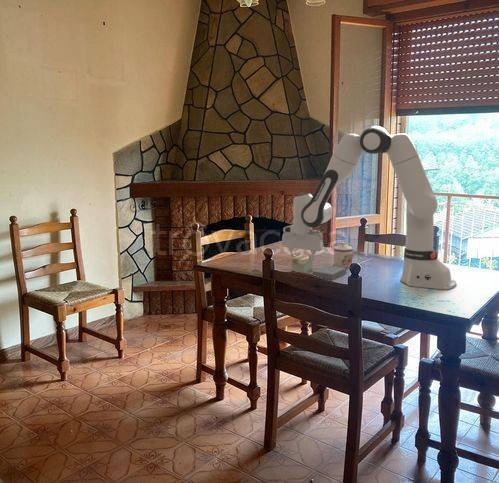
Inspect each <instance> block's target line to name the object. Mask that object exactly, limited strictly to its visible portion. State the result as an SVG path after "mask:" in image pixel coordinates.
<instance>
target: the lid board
mask: <svg viewBox="0 0 499 483" xmlns="http://www.w3.org/2000/svg"><path fill="white" fill-rule="evenodd" d="M309 256H310V255H307V254H300V255H296V257H290V264H292V263H295V264H301V265H303V264H306V263H309V262H311V261H314V260H315V259H314V258H315V257H314V258H313V260H309Z"/></svg>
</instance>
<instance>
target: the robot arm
mask: <svg viewBox="0 0 499 483" xmlns="http://www.w3.org/2000/svg"><path fill="white" fill-rule="evenodd" d="M364 153H367V154H370V155H371V154H372V155H376V154H387V156H388V158H389V162H390V163H391V166H392V168H393V172H394V174H395V176H396V179H397V182H398V184H399V187H400V189H401V191H402V193H403V196H404V199H405V201H406V209H405V210H406V212H405V213H406V214H405V216H406V222H405V224H406V225H405V226H406V227H405V228H406V231H405V232H406V233H405V234H406V236H405V247H404V251H403V261H404V262H403V263H404V264H403V268H402V272H401V277H400V279H399V280H400V281H401V282H402V283H404V284H406V285H407V286H409V287H414V288H415V287H416V288H425V289H435V290H436V289H437V290H451V289H453V288H455V287H456V286H457V281H456V280H454V279H452V276H451V275H452V274H451V270H450V268H449V267H448V266H446V264H444V263H443V262H441V261H440V260H439V259H438V254H439V250H437V251H436V250H435V249H434V239H435V238H434V237H435V229H434V228H435V226H434V225H435V224H434V215H435V213H436V211H437V209H438V201H437V198H436V196H435V192H434V190H433V187H432V186H431V183H430V180H429V179H428V176H427V174H426V171H425V169H424V166H423V164H422V160H421V159H420V158H421V157H420V156H419V153H418V151H417V148H416V146H415V144H414V142H413V141H412V138H410V136H409V135H408V134H407V133H403V132H401V133H396V134H390V132H389V131H388V129H387V128H385V127H384V126H381V125H372V126H369V127H367V128H366V129H364V130H363V132H362V133H361V134H360V135H358V134H356V133H346V134H344V135H343V136H342V137H341V139H340V140H339V142H338V144H336V147H335V149H334V151H333V153H332V154H331V155H332V156H331V157H330V160H329V163H328V165H327V168H326V170H325V172H324V174H323V176H322V179H321V180H320V182H319V183H318V185H317V187H316V190H315V191H314V194H313V195H312V194H311V193H308V192H307V193H301V194H296V195H295V196H294V198H293V203H292V215H293V218H292V219H293V220H292V224H290V225H287V226H284V227H283V228H282V231H283V234H282V237H281V245H282V246H283V247H284V248H288V250H289V252H290V256H291V257H290V258H294V257H297V255H296V254H297V253H295V251H294V249H299V250H307V251H310V253H311V254H310V255H308V256H309V260H313V258H315V254H316V253H317V252H320V251H322V250H323V249H324V240H323V237H324V236H323V235H324V234H323V232H322V231H320V230H318V229H317V230H316V229H313V228H317V227H319V226H320V225H323V224H324V223H327V222H328V221H329V220H331V219H332V218H333V216H334V209H333V206H332V205H331V203H330V202H328V201H329V199H330V196H331V195H332V192H333V191H334V190H335V189H336V187H338V186H339V185H340V184H342V183H343V182H344V181H346V180H347V179H349V178H350V176H351V175H352V173H353V172H354V171H355V170H356V167H357V165H358V162H359V160H360V158H361V157H362V155H363V154H364Z"/></svg>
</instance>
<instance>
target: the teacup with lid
mask: <svg viewBox="0 0 499 483" xmlns="http://www.w3.org/2000/svg"><path fill="white" fill-rule="evenodd" d="M354 255H355V252H354V249H353V247H352V246H349V245H348V244H346V242H344V241H343V242H342V241H341V243H340V244H338V245H336V246H334V248H333V266H335V267H341V268H346V269H350V268H349V266H350V265H351V264H352V265H353V258H354Z"/></svg>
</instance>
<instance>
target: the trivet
mask: <svg viewBox="0 0 499 483" xmlns="http://www.w3.org/2000/svg"><path fill="white" fill-rule="evenodd" d="M346 274H347V268H341V267H335V266H334V265H324V266H321V267H318V268H317V269H314V270H312V276H313V275H316V276H319V277H322V278H321V279H324V278H325V280H331V281H333V280H336V279H338V278H339V277H342V276H344V275H346Z"/></svg>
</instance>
